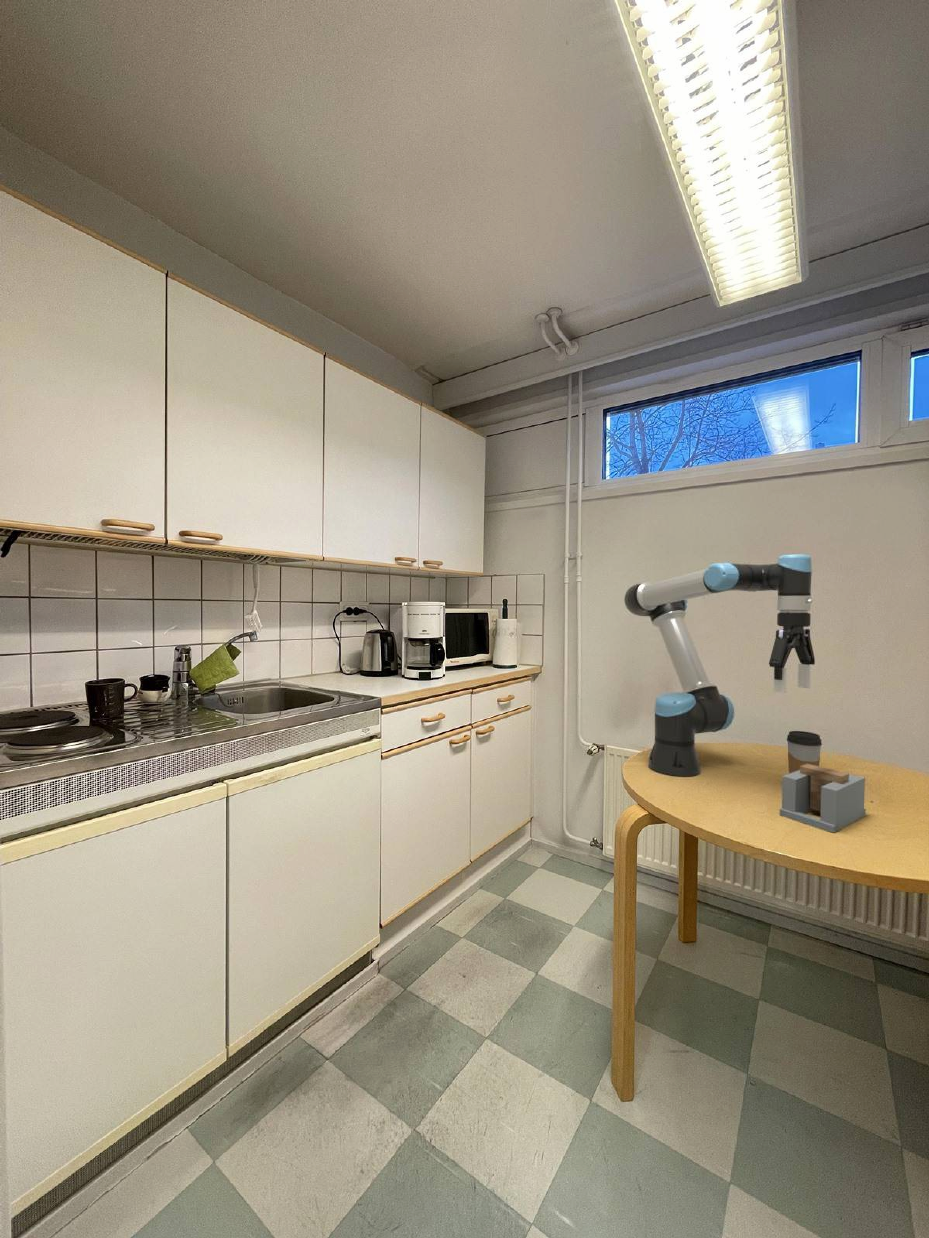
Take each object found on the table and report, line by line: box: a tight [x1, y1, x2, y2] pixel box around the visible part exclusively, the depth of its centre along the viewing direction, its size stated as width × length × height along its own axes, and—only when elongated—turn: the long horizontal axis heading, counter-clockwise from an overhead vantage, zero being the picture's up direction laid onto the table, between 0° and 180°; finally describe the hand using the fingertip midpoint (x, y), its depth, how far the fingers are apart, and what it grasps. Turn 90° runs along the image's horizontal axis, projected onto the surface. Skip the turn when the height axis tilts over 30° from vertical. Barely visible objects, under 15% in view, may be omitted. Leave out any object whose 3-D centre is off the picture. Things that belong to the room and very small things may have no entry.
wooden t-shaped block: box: [800, 764, 850, 812], centre depth 122 cm, size 9×4×10 cm, turn 33°
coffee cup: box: [786, 730, 823, 774], centre depth 142 cm, size 8×8×15 cm
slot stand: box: [779, 770, 867, 834], centre depth 122 cm, size 11×18×10 cm, turn 123°
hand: (792, 689), depth 135 cm, fingers open, 13 cm apart
